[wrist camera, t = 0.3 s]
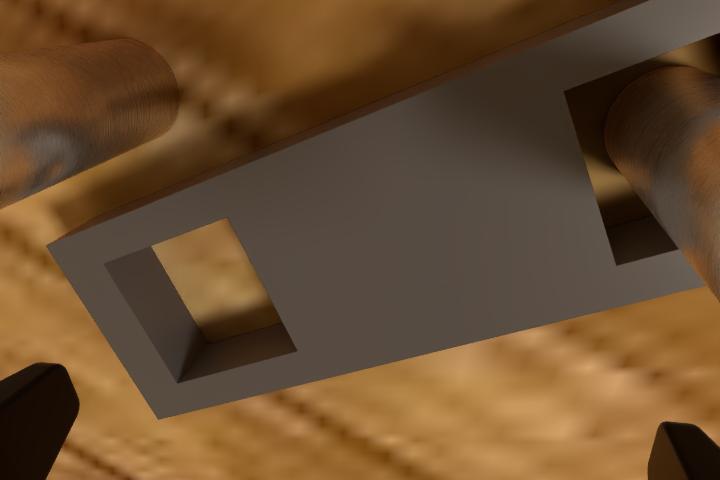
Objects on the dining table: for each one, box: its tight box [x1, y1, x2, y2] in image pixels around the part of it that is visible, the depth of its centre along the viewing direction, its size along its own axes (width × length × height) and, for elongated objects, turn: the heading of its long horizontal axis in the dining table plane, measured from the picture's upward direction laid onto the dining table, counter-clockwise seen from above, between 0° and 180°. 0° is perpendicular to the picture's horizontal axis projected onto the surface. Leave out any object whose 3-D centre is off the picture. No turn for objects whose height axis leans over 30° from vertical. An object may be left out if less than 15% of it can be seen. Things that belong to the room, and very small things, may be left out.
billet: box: [0, 39, 179, 209], centre depth 17 cm, size 4×4×13 cm
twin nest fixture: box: [46, 0, 720, 420], centre depth 21 cm, size 9×28×3 cm, turn 113°
